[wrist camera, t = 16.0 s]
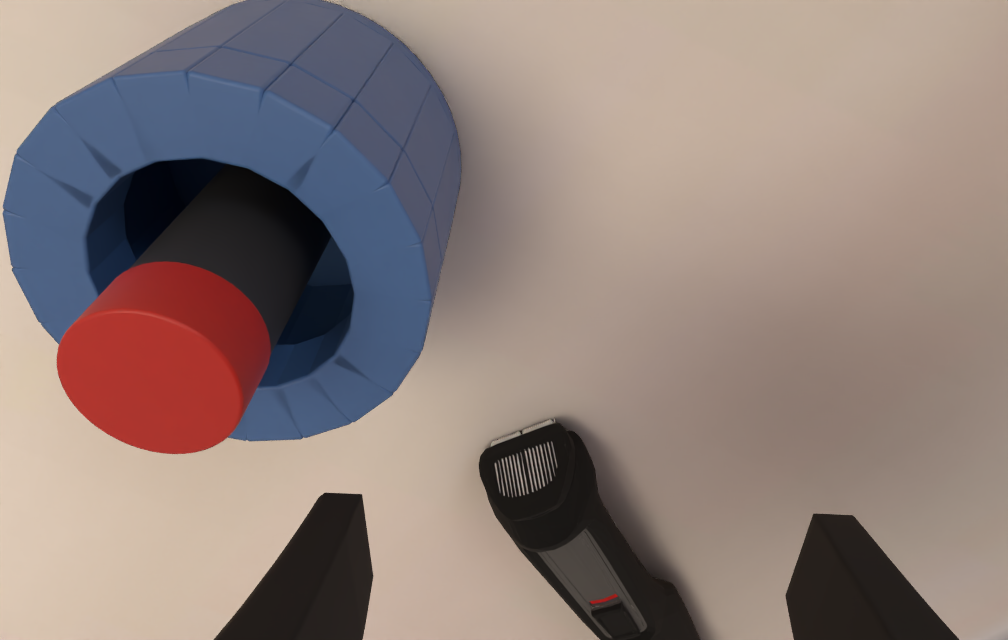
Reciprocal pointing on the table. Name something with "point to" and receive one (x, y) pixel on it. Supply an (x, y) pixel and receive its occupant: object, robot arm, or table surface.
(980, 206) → the table surface
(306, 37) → the blue cylindrical cup
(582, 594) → the electric trimmer
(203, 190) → the marker
